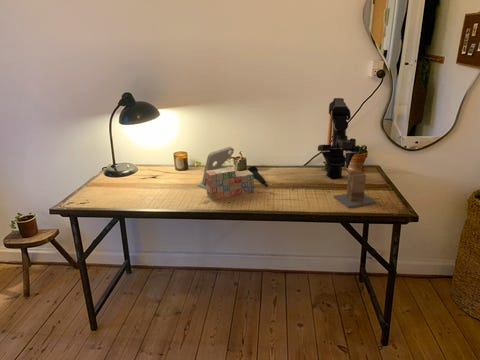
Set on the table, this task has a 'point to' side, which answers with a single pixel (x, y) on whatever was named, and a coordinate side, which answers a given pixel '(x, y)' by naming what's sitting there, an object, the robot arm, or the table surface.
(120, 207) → the table surface
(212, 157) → the phone holder
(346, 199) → the charcoal base plate
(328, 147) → the robot arm
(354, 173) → the walnut block
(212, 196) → the stack of blocks
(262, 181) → the microphone
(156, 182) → the table surface
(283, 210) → the table surface
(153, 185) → the table surface
